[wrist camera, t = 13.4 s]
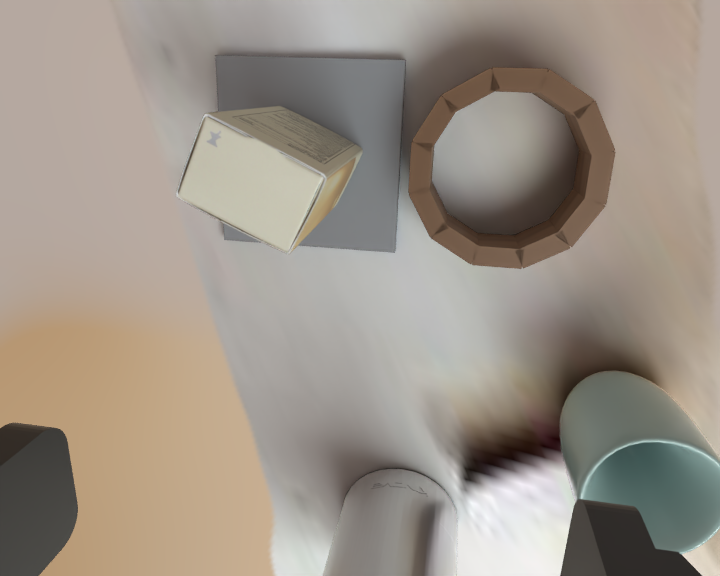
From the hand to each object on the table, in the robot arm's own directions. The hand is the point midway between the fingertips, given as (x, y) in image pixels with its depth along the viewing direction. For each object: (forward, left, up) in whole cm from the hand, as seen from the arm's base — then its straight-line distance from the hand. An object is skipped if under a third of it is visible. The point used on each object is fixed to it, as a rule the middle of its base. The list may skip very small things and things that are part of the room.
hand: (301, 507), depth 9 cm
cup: (-14, -14, -30) cm, 36 cm away
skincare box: (+2, +7, -30) cm, 31 cm away
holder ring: (+2, -5, -30) cm, 31 cm away
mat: (+2, +8, -30) cm, 31 cm away
